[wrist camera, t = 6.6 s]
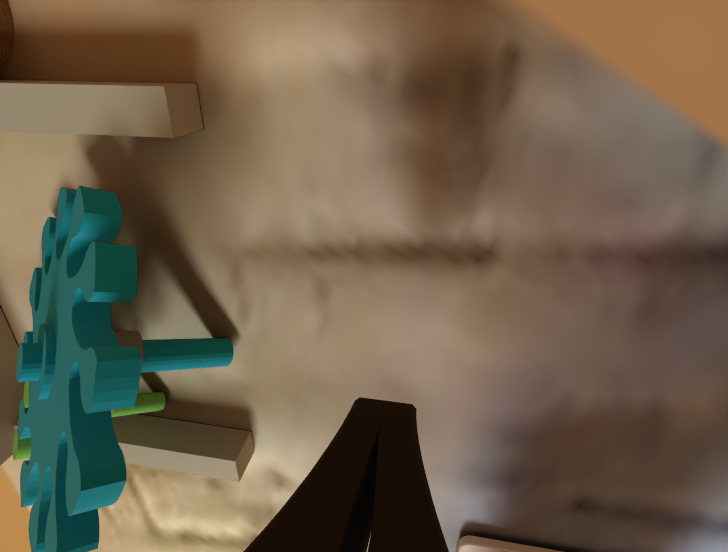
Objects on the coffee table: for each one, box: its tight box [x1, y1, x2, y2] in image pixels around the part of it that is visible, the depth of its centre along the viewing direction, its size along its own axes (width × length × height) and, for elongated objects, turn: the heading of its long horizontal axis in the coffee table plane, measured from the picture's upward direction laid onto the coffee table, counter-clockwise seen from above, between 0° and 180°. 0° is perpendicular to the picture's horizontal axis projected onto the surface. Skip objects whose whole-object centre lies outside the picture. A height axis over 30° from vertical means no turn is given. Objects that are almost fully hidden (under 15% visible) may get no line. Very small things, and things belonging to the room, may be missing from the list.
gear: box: [13, 186, 233, 552], centre depth 14 cm, size 11×6×10 cm
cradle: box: [0, 80, 254, 482], centre depth 14 cm, size 14×12×4 cm
